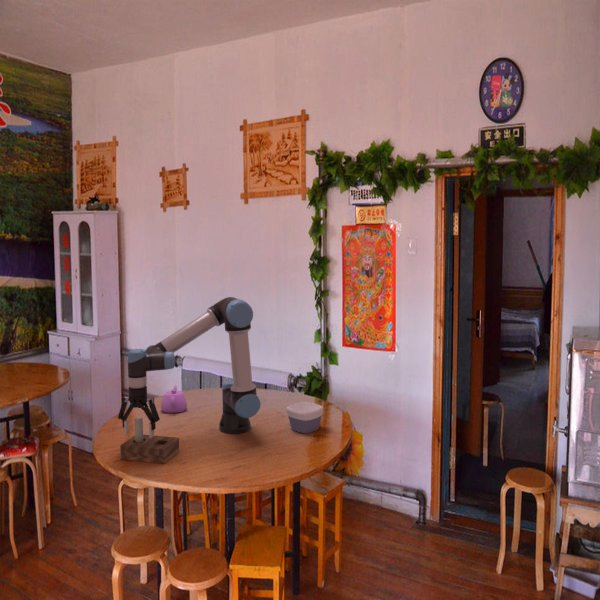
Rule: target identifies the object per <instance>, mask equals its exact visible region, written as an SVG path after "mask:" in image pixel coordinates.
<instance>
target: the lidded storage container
mask: <svg viewBox="0 0 600 600" xmlns="http://www.w3.org/2000/svg"><path fill="white" fill-rule="evenodd" d="M323 412H324V407H323V406H322V405H321V404H318V403H313V402H309V401H300V402H299V401H298V402H295V403H292V404H290V405H288V406H287V407H286V413H287V416H288V420H289V425H290V429H291V430H292V431H295V432H296V431H297V432H296V433H300V432H301V433H300V434H305V433H306V434H311V433H313V431H314V432H315V431H317V430H318V429H319V427H320V424H321V420H322V415H323ZM310 432H311V433H310Z"/></svg>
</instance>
